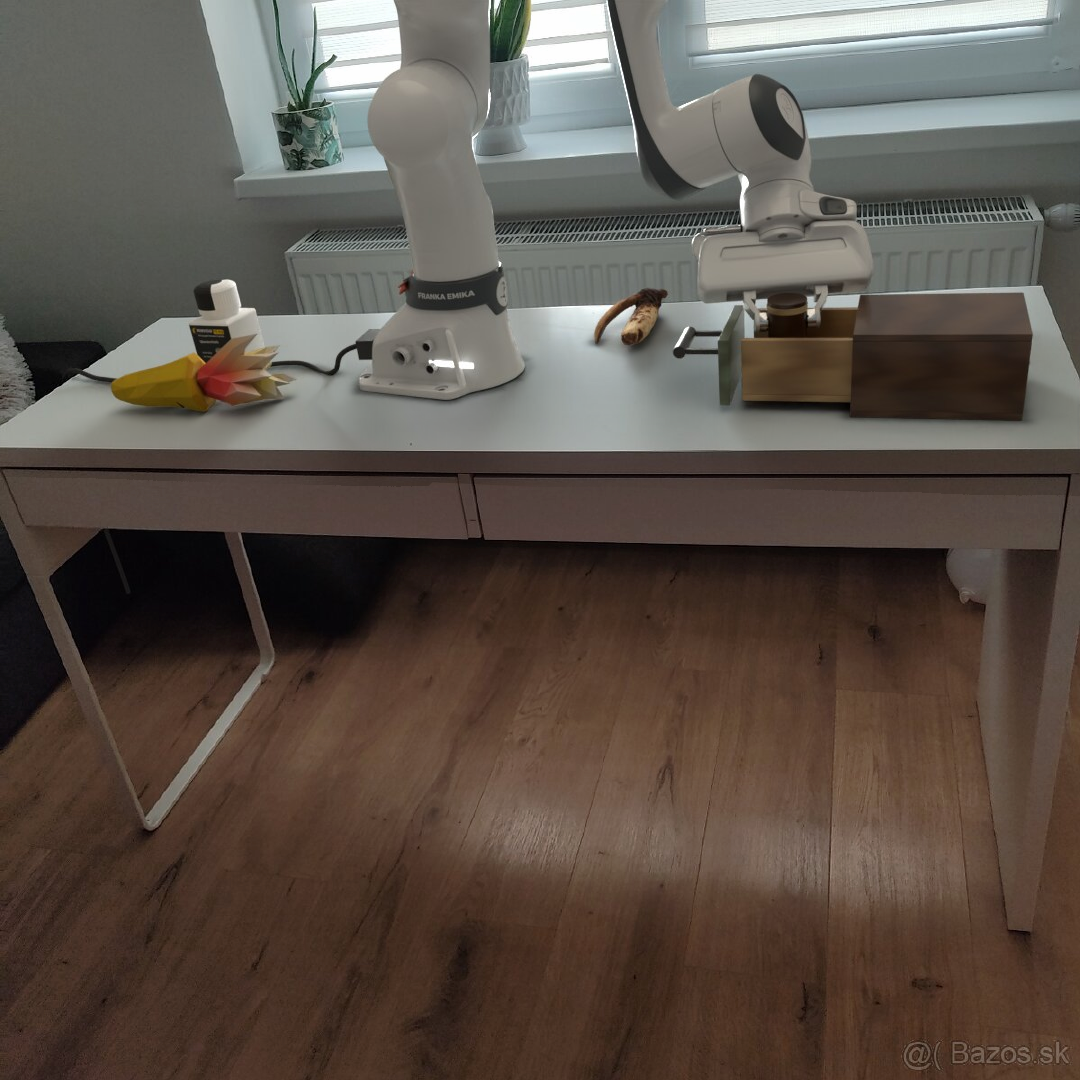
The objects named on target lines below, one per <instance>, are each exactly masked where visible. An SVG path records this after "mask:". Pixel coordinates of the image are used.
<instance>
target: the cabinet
mask: <svg viewBox="0 0 1080 1080" xmlns="http://www.w3.org/2000/svg"><path fill="white" fill-rule="evenodd" d="M857 307H858V309H857V315H856V320H855V326H854V332H853V346H852V374H851V401H850V402H849V404H850V405H849V417H851V418H882V419H883V418H887V419H890V418H891V419H927V420H928V419H930V420H931V419H932V420H933V419H934V420H935V419H936V420H975V421H977V420H981V421H982V420H984V421H1023V420H1024V411H1025V405H1026V404H1025V403H1026V395H1027V388H1028V387H1027V385H1028V377H1029V371H1030V361H1031V354H1032V348H1033V347H1032V346H1033V337H1034V332H1033V328H1032V323H1031V320H1030V314H1029V309H1028V306H1027V302H1026V297H1025V293H1024V292H1023V291H1022V292H963V293H960V292H959V293H956V292H955V293H953V292H952V293H949V292H948V293H891V294H890V293H889V294H887V293H885V294H884V293H883V294H882V293H881V294H880V293H879V294H860V295H859V299H858V303H857Z"/></svg>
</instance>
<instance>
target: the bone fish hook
mask: <svg viewBox="0 0 1080 1080" xmlns="http://www.w3.org/2000/svg"><path fill="white" fill-rule="evenodd" d="M667 296H669V292H668V291H667V290H666V289H664V288H658V289H657V288H654V287H643V288H641V289H640V290H638V291H637V292H636V293H633V294H630V296H627V297H624V298H623V299H621V300H619V301H618V302H616V303H615V304H613V305H612V306H611V307H610V308H609V309H608V310H607V311H606V312H605V313H604V314H603V315H602V316H601V318H600V319H598V321H597V324H596V325H595V329H594V333H593V340H594V344H598V343H599V342H600V340H601V338H602V336H603V333H604V332H605V330H606V328H607V327H608V325H609V324H611V322H613V321H614V320H615V319H616V318H617V317H618V316H619V315H620V314H622V313H623V312H624V311H627V310H628V309H629V308H632V307H633V306H634V307H635V308H634V310H633V311H632V314H631V315H630V317H629V318H628V320H627V322H626V325H625V326H624V328H623V329H622V332H621V335H620V341H621V343H622V344H623V345H624V346H633V345H637V344H640V343H641V342H642V341H643V340H644V339H646V337H648V335H649V334H650V332H651V330H652V329H653V328H654V326H655V324H656V322H657V320H658V316H659V312H660V311H659V310H660V308H661V307H662V300H663V299H666V298H667Z"/></svg>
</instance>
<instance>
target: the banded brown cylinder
mask: <svg viewBox="0 0 1080 1080" xmlns="http://www.w3.org/2000/svg"><path fill="white" fill-rule="evenodd" d="M766 308H767V314H768V319H767V320H768V332H767V338H807V309H808V308H809V302H808V296H805V295H803V294H799V293H781V294H776V295H773V296H770V297H769V298H768V299H766Z"/></svg>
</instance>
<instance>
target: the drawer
mask: <svg viewBox="0 0 1080 1080" xmlns="http://www.w3.org/2000/svg"><path fill="white" fill-rule="evenodd" d="M757 308H758V310H759V311H760V313H764V312H767V307H766V308H765V307H764V308H763V307H760V308H759V307H757ZM808 309H814V307H808ZM857 309H858V306H856V307H855V306H854V307H852V306H851V307H850V306H849V307H846V306H845V307H843V306H842V307H823V308H822V310H821V312H820V317H821V324H820V328H807V338H767V332H755V329H754V328H753V337H746V334H745V333H746V331H745V330H746V329H745V327H746V326H745V310H744V308H743V304H735V305H733V307H732V310H731V312H730V314H729V316H728V318H727V320H726V323H725V324H724V327H723V328H722V329H721V330H719V329H718V330H696V328H695V327H693V326H686V327H685V328H684V330H683V332H682V333H681V335H680V337H679V338H678V341H677V343H676V344H675V346H674V347H673V350H672V355H673V356H674V357H675V358H676V359H678V360H679V359H683V358H685V356H686V355H704V356H705V355H707V356H708V355H711V356H712V355H714V356H715V355H717V363H718V365H717V366H718V396H719V399H718V401H719V406H730V405H731V403H732V400H733V398H734V395H735V393H736V390H737V387H738V386H739V383H740V380H741V401H747V402H749V401H751V402H809V403H810V402H812V403H850V401H851V374H852V346H853V332H854V326H855V320H856V315H857ZM695 337H699V338H700V337H701V338H702V337H703V338H704V337H705V338H706V337H709V338H713V337H714V338H716V337H717V338H718V339H717V347H691V345H692V343H693V341H694V339H695Z"/></svg>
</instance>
